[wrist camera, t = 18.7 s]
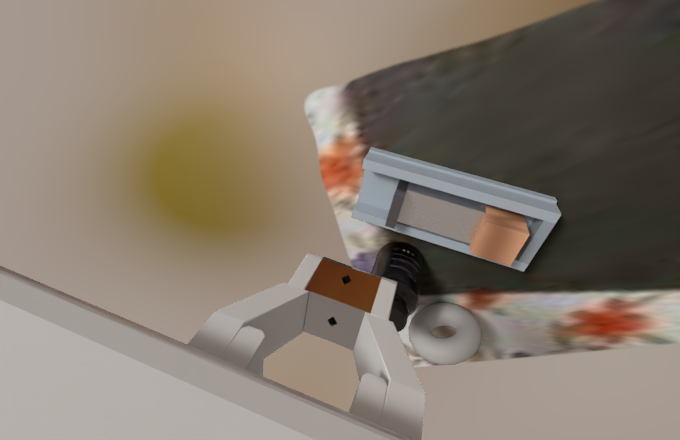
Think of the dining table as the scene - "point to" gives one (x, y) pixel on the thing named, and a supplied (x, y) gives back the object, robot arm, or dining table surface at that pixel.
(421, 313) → the donut
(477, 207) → the grey block
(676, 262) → the dining table surface
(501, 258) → the block
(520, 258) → the channel
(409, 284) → the supplement bottle
